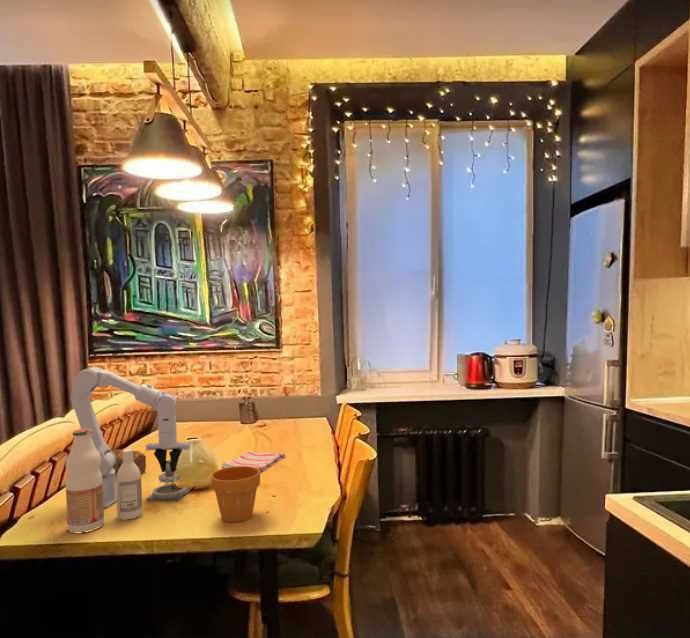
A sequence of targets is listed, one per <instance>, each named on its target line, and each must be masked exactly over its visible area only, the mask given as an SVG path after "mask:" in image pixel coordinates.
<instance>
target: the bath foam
mask: <svg viewBox="0 0 690 638" xmlns="http://www.w3.org/2000/svg"><path fill="white" fill-rule="evenodd" d="M133 451H134V449H133V448H129V449H124V450H123V451H122V454H123V463H122V465H121V467H120V468H119V470H118V472H117V476H116V496H117V501H116V510H117V513H116V514H117V519H118V518H119V519H118V520H120V519H132V518H135V519H137V518H136V517H138V518H139V516H140V517H141V516H142V515H143V493H142V491H143V489H142V475H141V473H140V470H139V468H138V467H137V465H136V464H135V463H134V462H133ZM132 520H133V519H132Z"/></svg>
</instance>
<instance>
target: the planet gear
mask: <svg viewBox="0 0 690 638" xmlns="http://www.w3.org/2000/svg"><path fill="white" fill-rule="evenodd" d="M178 479H180V475H179V474H174V472H172V471H171V459H168V460H166V461H165V472H162V473H161V474H159V476H158V481H159V483H164V484H166V483H171V482H175V481H177V480H178Z"/></svg>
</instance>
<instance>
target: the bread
mask: <svg viewBox="0 0 690 638" xmlns="http://www.w3.org/2000/svg"><path fill="white" fill-rule="evenodd" d="M110 450H111V452H113V453H114V454H115V456H116V463H115V465H114V466H113V468H114V470H115V476H117V472H118V470H119V468H120V467H121V465H122V463H123V454H122V451H123V450H125V449H122V448H121V449H119V448H118V449H110ZM146 457H147V456H146V455H145V454H144V453H143V452H141V451H139V450H133V462H134V463H135V464H136V465H137V467H138V468H139V470H140V473H141V474H142V475H143V474H144V473H145V472H146V468H147V458H146Z"/></svg>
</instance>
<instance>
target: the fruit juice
mask: <svg viewBox="0 0 690 638" xmlns="http://www.w3.org/2000/svg"><path fill="white" fill-rule="evenodd" d="M91 435H92V429H81V428H80V429H76V430H73V431H72V438H74V439H73V442H72V446H71V448H70V451H69V454H68V455H67V456H66V459H65V468H66V471H67V476H66V479H65V493H66V494H65V497H66V498H65V499H66V522H67V523H66V524H67V530H69V531H72V532H85V531H89V530H93V529H95V528H97V527H99V526H101V525H102V524H103V525H104V523H105V515H104V514H105V513H104V511H105V509H104V508H105V507H103V480H102V473H101V471H100V464H101V456H100V454H99V452H98V451H97V449H96V447H95V445H94V443H93V441H92V438H91ZM103 525H102V526H103ZM102 526H101V527H102ZM69 531H68V532H69Z"/></svg>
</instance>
